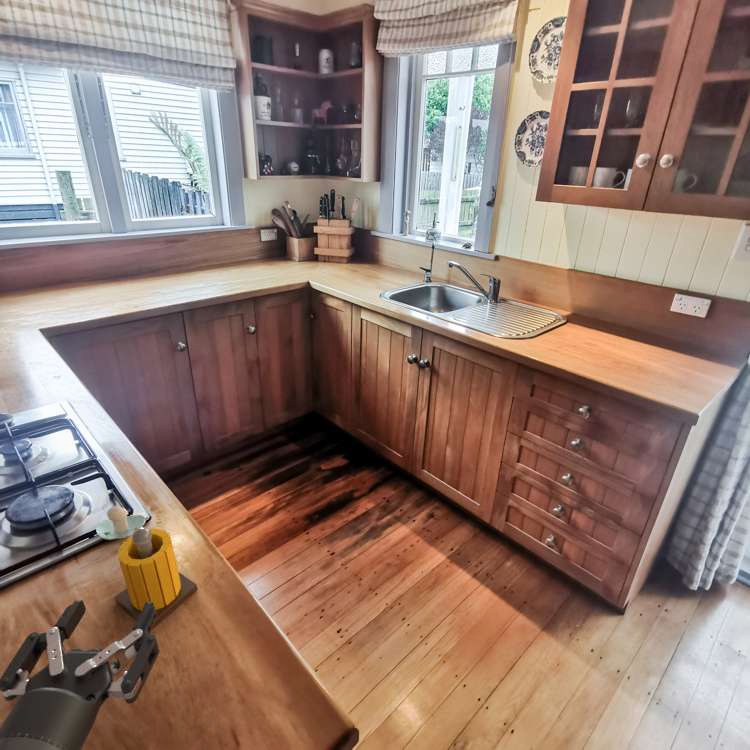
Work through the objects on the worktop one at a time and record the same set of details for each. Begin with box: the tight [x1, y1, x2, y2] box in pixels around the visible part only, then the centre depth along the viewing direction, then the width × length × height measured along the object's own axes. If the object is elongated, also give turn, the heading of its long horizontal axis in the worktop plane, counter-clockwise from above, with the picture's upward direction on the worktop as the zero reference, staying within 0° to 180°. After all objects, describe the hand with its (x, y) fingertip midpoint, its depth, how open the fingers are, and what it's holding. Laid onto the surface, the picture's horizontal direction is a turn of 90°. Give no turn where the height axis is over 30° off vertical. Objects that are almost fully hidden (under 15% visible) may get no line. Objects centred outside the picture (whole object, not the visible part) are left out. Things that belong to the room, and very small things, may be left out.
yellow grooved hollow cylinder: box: [117, 528, 181, 611], centre depth 66 cm, size 7×7×9 cm
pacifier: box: [95, 506, 146, 541], centre depth 78 cm, size 7×6×6 cm
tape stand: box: [114, 526, 199, 630], centre depth 65 cm, size 8×8×13 cm
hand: (116, 605), depth 57 cm, fingers open, 8 cm apart
